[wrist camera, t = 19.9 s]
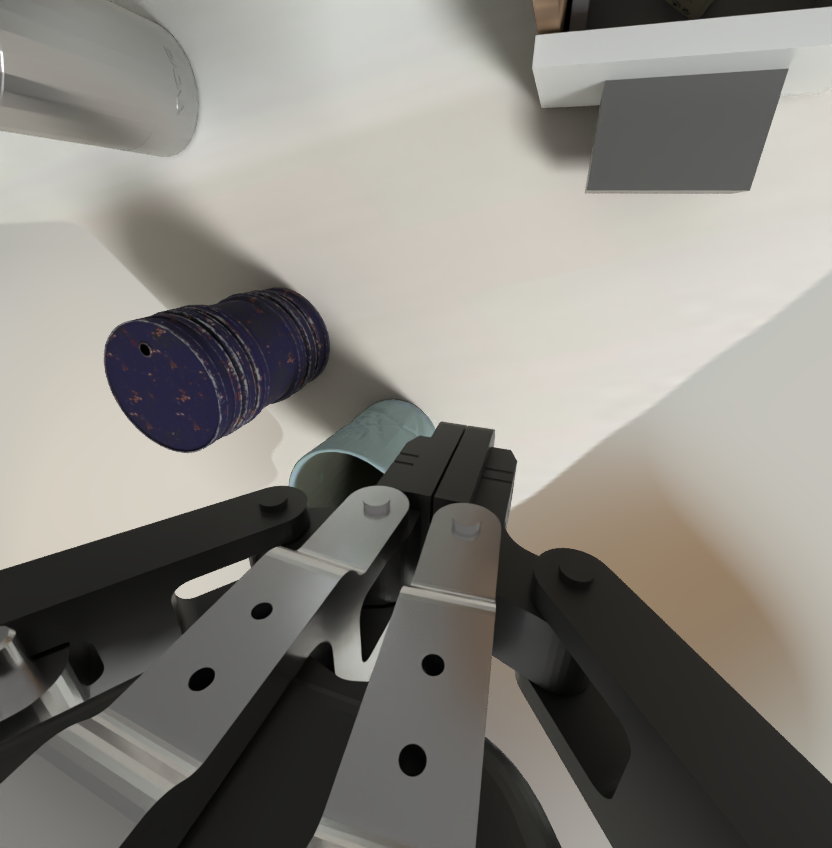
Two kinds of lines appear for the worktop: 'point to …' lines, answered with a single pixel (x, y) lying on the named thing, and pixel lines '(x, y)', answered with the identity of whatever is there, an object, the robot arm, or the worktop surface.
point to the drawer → (683, 86)
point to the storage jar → (214, 364)
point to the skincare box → (691, 7)
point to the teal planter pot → (358, 452)
